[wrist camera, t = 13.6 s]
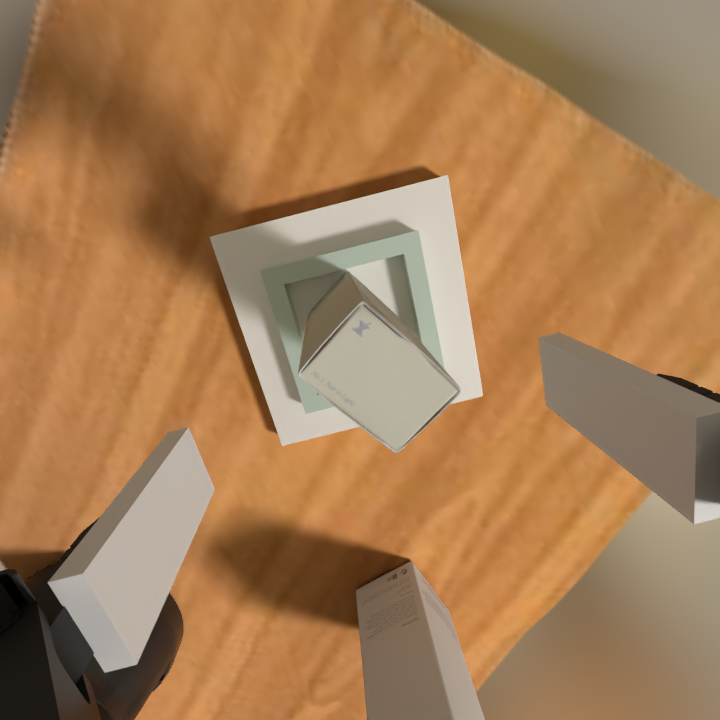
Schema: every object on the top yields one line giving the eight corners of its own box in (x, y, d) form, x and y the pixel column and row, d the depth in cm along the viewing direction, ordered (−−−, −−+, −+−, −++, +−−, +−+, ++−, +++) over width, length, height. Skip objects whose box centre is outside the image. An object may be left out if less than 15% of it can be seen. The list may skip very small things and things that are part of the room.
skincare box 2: (354, 586, 38) (366, 813, 23) (415, 555, 37) (467, 768, 23) (397, 640, 41) (432, 876, 26) (455, 611, 40) (526, 837, 25)
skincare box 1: (306, 314, 28) (287, 373, 17) (349, 266, 28) (359, 294, 16) (371, 370, 30) (394, 460, 18) (413, 327, 29) (465, 391, 18)
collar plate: (284, 436, 33) (279, 456, 30) (215, 236, 28) (202, 237, 25) (476, 388, 33) (490, 403, 30) (441, 177, 28) (454, 171, 25)
